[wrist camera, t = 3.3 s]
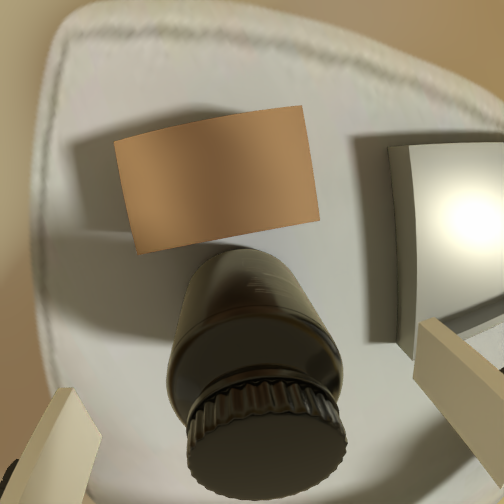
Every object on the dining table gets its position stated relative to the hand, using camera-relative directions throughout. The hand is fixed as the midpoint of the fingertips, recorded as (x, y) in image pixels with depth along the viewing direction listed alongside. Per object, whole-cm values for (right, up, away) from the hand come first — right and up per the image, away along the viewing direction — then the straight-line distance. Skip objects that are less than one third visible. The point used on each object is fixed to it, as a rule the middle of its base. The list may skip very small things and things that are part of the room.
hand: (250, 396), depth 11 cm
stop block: (-2, +9, +7) cm, 12 cm away
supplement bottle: (-1, +2, +9) cm, 9 cm away
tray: (+16, +6, +9) cm, 19 cm away
